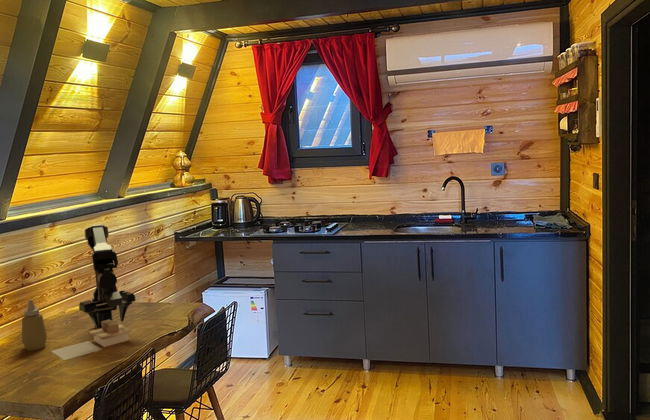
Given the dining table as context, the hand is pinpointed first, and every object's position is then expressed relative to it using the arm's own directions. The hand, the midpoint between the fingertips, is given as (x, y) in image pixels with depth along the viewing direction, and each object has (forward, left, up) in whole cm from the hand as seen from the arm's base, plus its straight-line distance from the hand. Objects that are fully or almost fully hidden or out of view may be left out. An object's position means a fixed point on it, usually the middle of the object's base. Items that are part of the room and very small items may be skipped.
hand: (109, 324), depth 210 cm
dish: (0, 0, -6) cm, 6 cm away
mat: (0, -13, -6) cm, 14 cm away
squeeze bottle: (-15, -22, -7) cm, 27 cm away
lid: (0, 0, -3) cm, 3 cm away
